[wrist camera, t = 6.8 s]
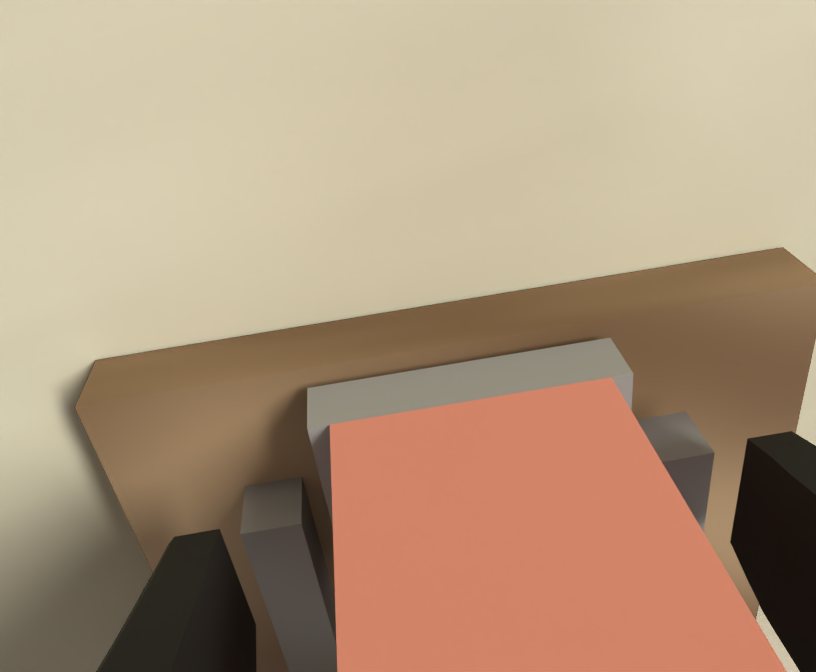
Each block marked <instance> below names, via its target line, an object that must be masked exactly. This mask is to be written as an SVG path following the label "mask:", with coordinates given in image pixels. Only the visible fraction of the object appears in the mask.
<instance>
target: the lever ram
mask: <svg viewBox="0 0 816 672" xmlns="http://www.w3.org/2000/svg"><path fill="white" fill-rule="evenodd" d="M632 391H633V372H632V370H631V369H630V367H629V366H628V364H627V363H626V361H625V360H624V358H623V356H622V355H621V353H620V352H619V350H618V349H617V347H616V346H615V344H614V342H613V341H612V339H611V338H605V339H599V340H593V341H587V342H581V343H575V344H569V345H563V346H557V347H551V348H545V349H539V350H533V351H527V352H521V353H515V354H509V355H503V356H497V357H491V358H485V359H479V360H473V361H467V362H461V363H455V364H449V365H443V366H437V367H431V368H425V369H419V370H413V371H407V372H401V373H395V374H389V375H383V376H377V377H371V378H365V379H359V380H353V381H347V382H341V383H335V384H329V385H323V386H317V387H311V388H307V430H308V434H309V438H310V442H311V445H312V449H313V453H314V457H315V461H316V465H317V469H318V472H319V476H320V480H321V484H322V488H323V492H324V496H325V500H326V503H327V507H328V511H329V515H330V519H331V523H332V527H333V549H334V581H335V613H336V644H337V672H786V670H785V668H784V667H783V665H782V663H781V662H780V660H779V658H778V657H777V655H776V653H775V652H774V650H773V648H772V647H771V645H770V643H769V642H768V640H767V638H766V636H765V635H764V633H763V631H762V630H761V628H760V626H759V625H758V623H757V621H756V620H755V618H754V616H753V615H752V613H751V611H750V610H749V608H748V606H747V604H746V603H745V601H744V599H743V598H742V596H741V594H740V593H739V591H738V589H737V588H736V586H735V584H734V583H733V581H732V579H731V578H730V576H729V574H728V573H727V571H726V569H725V567H724V566H723V564H722V562H721V561H720V559H719V557H718V556H717V554H716V552H715V551H714V549H713V547H712V546H711V544H710V542H709V541H708V539H707V537H706V535H705V534H704V532H703V530H702V529H701V527H700V525H699V524H698V522H697V520H696V519H695V517H694V515H693V514H692V512H691V510H690V509H689V507H688V505H687V504H686V502H685V500H684V498H683V497H682V495H681V493H680V492H679V490H678V488H677V487H676V485H675V483H674V482H673V480H672V478H671V477H670V475H669V473H668V472H667V470H666V468H665V466H664V465H663V463H662V461H661V460H660V458H659V456H658V455H657V453H656V451H655V450H654V448H653V446H652V445H651V443H650V441H649V440H648V438H647V436H646V435H645V433H644V431H643V429H642V428H641V426H640V424H639V423H638V421H637V419H636V418H635V416H634V414H633V413H632V411H631V410H632Z"/></svg>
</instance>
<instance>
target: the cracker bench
mask: <svg viewBox="0 0 816 672" xmlns="http://www.w3.org/2000/svg"><path fill="white" fill-rule="evenodd" d="M605 338H611V339H612V341H613V342H614V344H615V346H616V347H617V349H618V350H619V352H620V353H621V355H622V356H623V358H624V360H625V361H626V363H627V364H628V366H629V367H630V369H631V370H632V372H633V391H632V410H631V411H632V413H633V414H634V416H635V418H636V419H637V421H638V423H639V424H640V426H641V428H642V429H643V431H644V433H645V435H646V436H647V438H648V440H649V441H650V443H651V445H652V446H653V448H654V450H655V451H656V453H657V455H658V456H659V458H660V460H661V461H662V463H663V465H664V466H665V468H666V470H667V472H668V473H669V475H670V477H671V478H672V480H673V482H674V483H675V485H676V487H677V488H678V490H679V492H680V493H681V495H682V497H683V498H684V500H685V502H686V504H687V505H688V507H689V509H690V510H691V512H692V514H693V515H694V517H695V519H696V520H697V522H698V524H699V525H700V527H701V529H702V530H703V532H704V534H705V535H706V537H707V539H708V541H709V542H710V544H711V546H712V547H713V549H714V551H715V552H716V554H717V556H718V557H719V559H720V561H721V562H722V564H723V566H724V567H725V569H726V571H727V573H728V574H729V576H730V578H731V579H732V581H733V583H734V584H735V586H736V588H737V589H738V591H739V593H740V594H741V596H742V598H743V599H744V601H745V603H746V604H747V606H748V608H749V610H750V611H751V613H752V615H753V616H754V618H755V620H756V616H757V611H758V607H759V602H758V600H757V598H756V596H755V594H754V592H753V590H752V588H751V586H750V584H749V582H748V580H747V578H746V576H745V574H744V571H743V569H742V567H741V565H740V563H739V560H738V558H737V556H736V554H735V552H734V549H733V547H732V545H731V543H730V540H731V534H732V528H733V522H734V516H735V510H736V504H737V498H738V492H739V486H740V480H741V474H742V468H743V462H744V456H745V450H746V444H747V439H748V438H754V437H760V436H766V435H771V434H777V433H783V432H789V431H792V432H794V433H796V428H797V424H798V419H799V414H800V410H801V405H802V400H803V396H804V391H805V386H806V381H807V377H808V372H809V367H810V363H811V358H812V353H813V349H814V344H815V339H816V273H815V272H813V271H812V270H811V269H810V268H808V267H807V266H806V265H805V264H803V263H802V262H801V261H800V260H798V259H797V258H796V257H795V256H793V255H792V254H791V253H790V252H788V251H787V250H786V249H785V248H777V249H771V250H764V251H758V252H752V253H746V254H740V255H734V256H728V257H722V258H716V259H710V260H704V261H698V262H691V263H685V264H679V265H673V266H667V267H661V268H655V269H649V270H643V271H637V272H631V273H625V274H618V275H612V276H606V277H600V278H594V279H588V280H582V281H576V282H570V283H564V284H558V285H552V286H545V287H539V288H533V289H527V290H521V291H515V292H509V293H503V294H497V295H491V296H485V297H478V298H472V299H466V300H460V301H454V302H448V303H442V304H436V305H430V306H424V307H418V308H412V309H405V310H399V311H393V312H387V313H381V314H375V315H369V316H363V317H357V318H351V319H345V320H339V321H332V322H326V323H320V324H314V325H308V326H302V327H296V328H290V329H284V330H278V331H272V332H266V333H259V334H253V335H247V336H241V337H235V338H229V339H223V340H217V341H211V342H205V343H199V344H193V345H186V346H180V347H174V348H168V349H162V350H156V351H150V352H144V353H138V354H132V355H126V356H120V357H113V358H107V359H101V360H96V361H95V363H94V365H93V368H92V370H91V372H90V374H89V377H88V379H87V381H86V383H85V386H84V388H83V390H82V392H81V395H80V397H79V399H78V401H77V404H76V406H75V409H76V411H77V413H78V415H79V418H80V420H81V422H82V424H83V426H84V428H85V430H86V432H87V434H88V437H89V439H90V441H91V443H92V445H93V447H94V449H95V451H96V453H97V456H98V458H99V460H100V462H101V464H102V466H103V468H104V470H105V472H106V475H107V477H108V479H109V481H110V483H111V485H112V487H113V489H114V492H115V494H116V496H117V498H118V500H119V502H120V504H121V506H122V508H123V511H124V513H125V515H126V517H127V519H128V521H129V523H130V525H131V527H132V530H133V532H134V534H135V536H136V538H137V540H138V542H139V544H140V546H141V549H142V551H143V553H144V555H145V557H146V559H147V561H148V563H149V565H150V568H151V570H152V572H154V570H155V568H156V566H157V564H158V562H159V561H160V559H161V557H162V555H163V553H164V551H165V549H166V548H167V546H168V544H169V543H170V541H171V540H172V539H173V538H174V537H175V536H181V535H187V534H193V533H199V532H205V531H210V530H216V529H220V531H221V534H222V536H223V539H224V542H225V544H226V547H227V549H228V552H229V555H230V557H231V560H232V563H233V565H234V568H235V571H236V573H237V576H238V578H239V581H240V584H241V586H242V589H243V592H244V594H245V597H246V600H247V602H248V605H249V607H250V610H251V613H252V615H253V618H254V621H255V623H256V672H337V644H336V613H335V581H334V549H333V527H332V523H331V519H330V515H329V511H328V507H327V503H326V500H325V496H324V492H323V488H322V484H321V480H320V476H319V472H318V469H317V465H316V461H315V457H314V453H313V449H312V445H311V442H310V438H309V434H308V430H307V388H311V387H317V386H323V385H329V384H335V383H341V382H347V381H353V380H359V379H365V378H371V377H377V376H383V375H389V374H395V373H401V372H407V371H413V370H419V369H425V368H431V367H437V366H443V365H449V364H455V363H461V362H467V361H473V360H479V359H485V358H491V357H497V356H503V355H509V354H515V353H521V352H527V351H533V350H539V349H545V348H551V347H557V346H563V345H569V344H575V343H581V342H587V341H593V340H599V339H605Z"/></svg>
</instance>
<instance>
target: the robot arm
mask: <svg viewBox="0 0 816 672" xmlns="http://www.w3.org/2000/svg"><path fill="white" fill-rule="evenodd" d="M730 543H731V545H732V547H733V549H734V552H735V554H736V556H737V558H738V560H739V563H740V565H741V567H742V569H743V571H744V574H745V576H746V578H747V580H748V582H749V584H750V586H751V588H752V590H753V592H754V594H755V596H756V598H757V600H758V602H759V605H760V607H761V609H762V611H763V612H764V614H765V616H766V617H767V619H768V621H769V622H770V624H771V626H772V627H773V629H774V631H775V632H776V634H777V635H778V637H779V639H780V640H781V642H782V643H783V645H784V647H785V648H786V650H787V651H788V653H789V655H790V656H791V658H792V659H793V661H794V663H795V664H796V666H797V667H798V669H799V671H800V672H816V446H815V445H813V444H812V443H810V442H808V441H807V440H805V439H803V438H802V437H800V436H799V435H797V434H795V433H794V432H792V431H789V432H783V433H777V434H771V435H766V436H760V437H754V438H748V439H747V444H746V450H745V456H744V462H743V468H742V474H741V480H740V486H739V492H738V498H737V504H736V510H735V516H734V522H733V528H732V534H731V540H730ZM96 672H256V623H255V621H254V618H253V615H252V613H251V610H250V607H249V605H248V602H247V600H246V597H245V594H244V592H243V589H242V586H241V584H240V581H239V578H238V576H237V573H236V571H235V568H234V565H233V563H232V560H231V557H230V555H229V552H228V549H227V547H226V544H225V542H224V539H223V536H222V534H221V531H220V529H216V530H210V531H205V532H199V533H193V534H187V535H181V536H175V537H174V538H173V539H172V540H171V541H170V543H169V544H168V546H167V548H166V549H165V551H164V553H163V555H162V557H161V559H160V561H159V562H158V564H157V566H156V568H155V570H154V572H153V573H152V575H151V577H150V579H149V581H148V583H147V585H146V586H145V588H144V590H143V592H142V594H141V595H140V597H139V599H138V601H137V603H136V604H135V606H134V608H133V610H132V612H131V613H130V615H129V617H128V619H127V620H126V622H125V624H124V626H123V627H122V629H121V631H120V633H119V634H118V636H117V638H116V640H115V641H114V643H113V645H112V646H111V648H110V650H109V651H108V653H107V655H106V656H105V658H104V660H103V661H102V663H101V665H100V666H99V668H98V670H97V671H96Z"/></svg>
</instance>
